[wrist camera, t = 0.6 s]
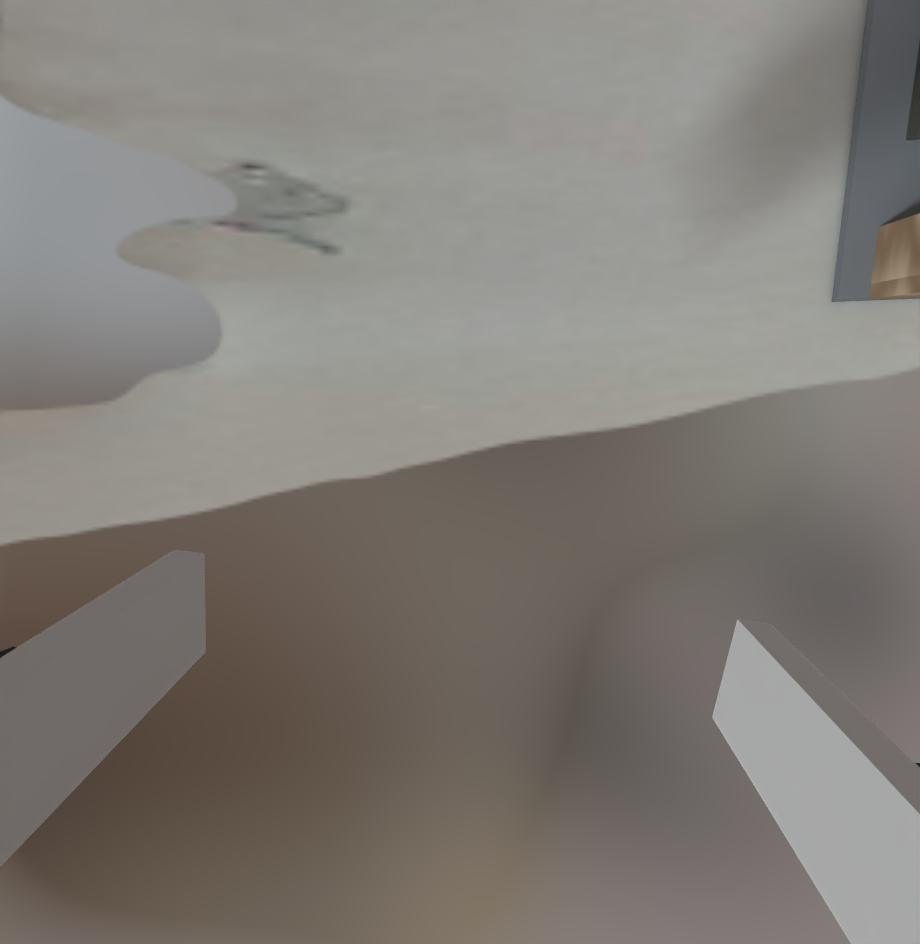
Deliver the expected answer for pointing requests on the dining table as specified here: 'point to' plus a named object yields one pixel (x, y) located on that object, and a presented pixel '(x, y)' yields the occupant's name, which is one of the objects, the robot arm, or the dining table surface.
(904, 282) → the socket block
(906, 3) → the base mat
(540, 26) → the dining table surface
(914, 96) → the sleeve
